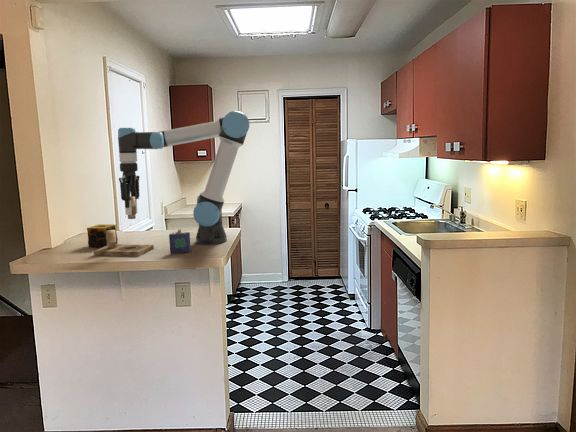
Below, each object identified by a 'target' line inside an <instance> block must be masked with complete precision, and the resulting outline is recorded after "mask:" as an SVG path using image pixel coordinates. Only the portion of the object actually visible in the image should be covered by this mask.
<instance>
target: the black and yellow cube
mask: <svg viewBox="0 0 576 432" xmlns="http://www.w3.org/2000/svg"><path fill="white" fill-rule="evenodd" d="M116 225H117V224H108V223H107V224H96V225H92V226H90V227H87V228H86V231H87V244H88V245H87V246H88V248H90V249H100V248H103V247H105V246H107V238H106V231H107V230H115V234H116V244H118V240H119V238H118V233H117V226H116Z"/></svg>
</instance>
